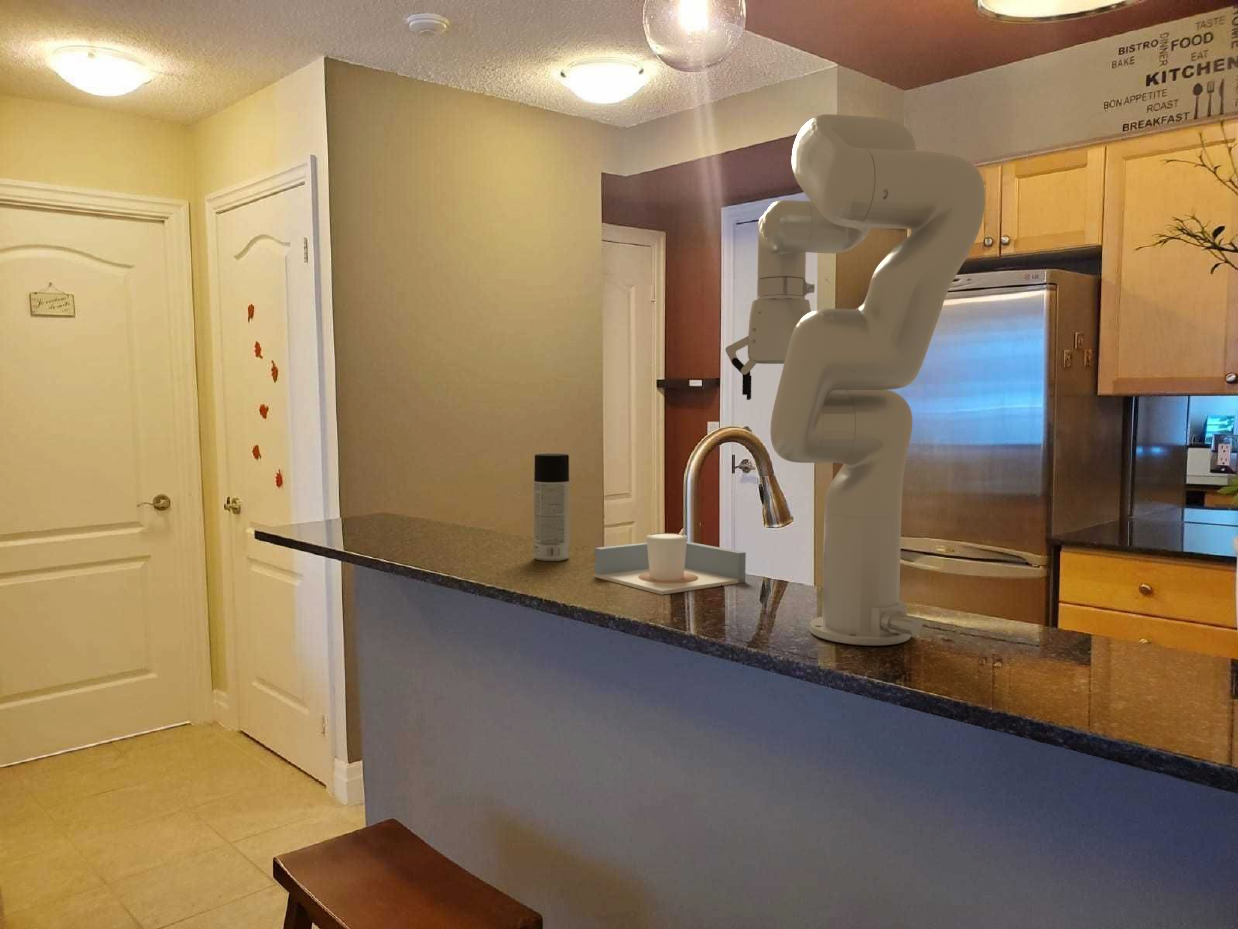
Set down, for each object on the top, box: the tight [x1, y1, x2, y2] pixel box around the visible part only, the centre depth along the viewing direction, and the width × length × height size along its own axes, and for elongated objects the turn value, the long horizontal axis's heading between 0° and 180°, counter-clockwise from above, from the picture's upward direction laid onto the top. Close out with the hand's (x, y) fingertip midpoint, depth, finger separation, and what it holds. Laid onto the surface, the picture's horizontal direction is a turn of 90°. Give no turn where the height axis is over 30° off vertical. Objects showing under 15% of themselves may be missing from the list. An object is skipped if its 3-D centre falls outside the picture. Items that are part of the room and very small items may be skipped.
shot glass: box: [645, 532, 688, 580], centre depth 153 cm, size 7×7×7 cm
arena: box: [594, 541, 747, 596], centre depth 154 cm, size 18×18×5 cm
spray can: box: [533, 453, 570, 562], centre depth 174 cm, size 7×7×20 cm
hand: (779, 399), depth 147 cm, fingers open, 9 cm apart
